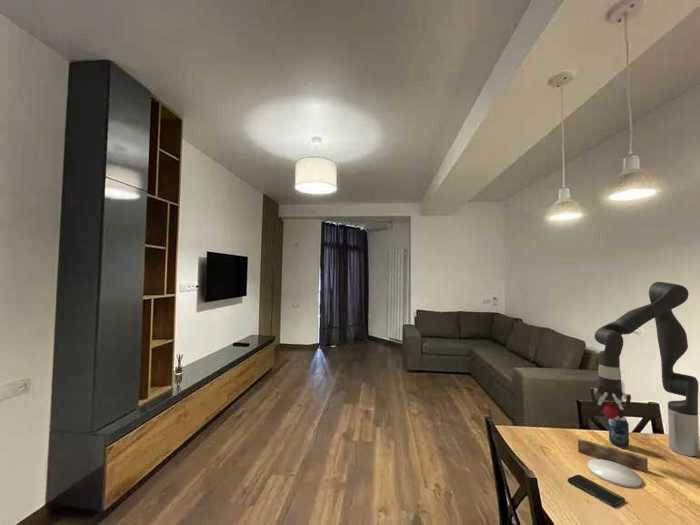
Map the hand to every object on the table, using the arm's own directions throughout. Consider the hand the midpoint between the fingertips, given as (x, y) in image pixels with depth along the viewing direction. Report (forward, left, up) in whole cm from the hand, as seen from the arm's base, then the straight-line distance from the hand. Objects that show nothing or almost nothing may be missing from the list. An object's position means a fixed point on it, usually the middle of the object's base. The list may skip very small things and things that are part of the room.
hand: (610, 415), depth 137 cm
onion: (0, 0, -2) cm, 2 cm away
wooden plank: (+6, +3, -16) cm, 17 cm away
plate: (+15, +8, -16) cm, 24 cm away
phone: (+33, +10, -17) cm, 39 cm away
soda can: (-13, -3, -17) cm, 21 cm away
